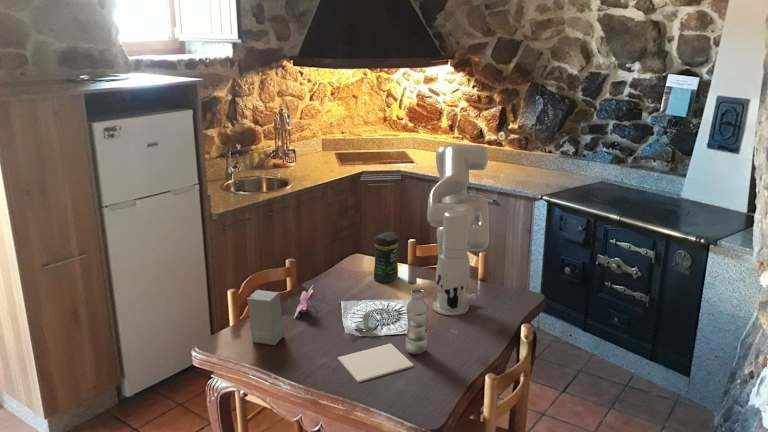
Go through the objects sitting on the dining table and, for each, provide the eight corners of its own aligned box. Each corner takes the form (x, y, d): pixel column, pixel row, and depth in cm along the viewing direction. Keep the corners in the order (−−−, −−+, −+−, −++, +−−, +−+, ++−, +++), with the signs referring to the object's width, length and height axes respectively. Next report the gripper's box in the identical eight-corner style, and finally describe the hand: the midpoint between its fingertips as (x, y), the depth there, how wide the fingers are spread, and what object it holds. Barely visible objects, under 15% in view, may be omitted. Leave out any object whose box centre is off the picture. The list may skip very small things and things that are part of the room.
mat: (390, 345, 191) (390, 343, 190) (413, 366, 179) (413, 364, 179) (337, 359, 183) (337, 357, 182) (357, 382, 171) (357, 380, 171)
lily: (307, 305, 220) (292, 285, 216) (333, 298, 214) (319, 278, 210) (294, 329, 210) (279, 309, 206) (322, 323, 205) (307, 302, 201)
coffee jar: (386, 285, 234) (387, 239, 228) (370, 280, 238) (370, 235, 232) (401, 277, 241) (402, 232, 235) (385, 272, 246) (385, 228, 240)
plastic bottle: (403, 346, 190) (404, 287, 184) (425, 345, 190) (426, 286, 184) (406, 357, 184) (407, 296, 177) (428, 356, 184) (430, 295, 178)
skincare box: (284, 336, 195) (282, 291, 191) (273, 347, 189) (270, 300, 184) (261, 332, 198) (258, 287, 193) (249, 342, 192) (246, 296, 187)
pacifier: (349, 329, 201) (363, 335, 197) (349, 312, 199) (362, 317, 195) (364, 321, 206) (378, 326, 202) (364, 304, 204) (377, 309, 200)
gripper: (467, 243, 190) (465, 297, 195) (426, 251, 183) (425, 307, 189) (482, 251, 183) (479, 306, 189) (440, 259, 177) (438, 317, 182)
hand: (452, 306), depth 189 cm, fingers closed
